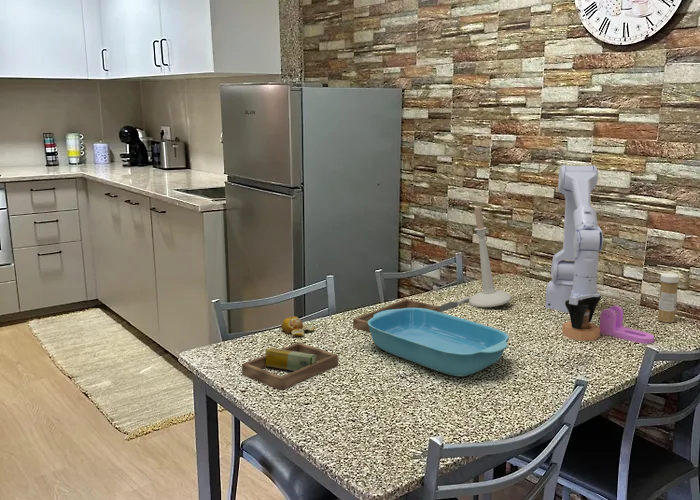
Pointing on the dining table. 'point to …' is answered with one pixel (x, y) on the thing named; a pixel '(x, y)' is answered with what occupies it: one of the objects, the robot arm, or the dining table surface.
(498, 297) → the candlestick
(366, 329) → the wagon frame
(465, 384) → the dining table surface
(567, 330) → the orange flat ring
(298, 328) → the fruit
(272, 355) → the medication box
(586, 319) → the peg
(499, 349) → the casserole dish
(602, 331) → the bracket
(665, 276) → the sprinkles bottle
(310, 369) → the box frame
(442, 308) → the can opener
